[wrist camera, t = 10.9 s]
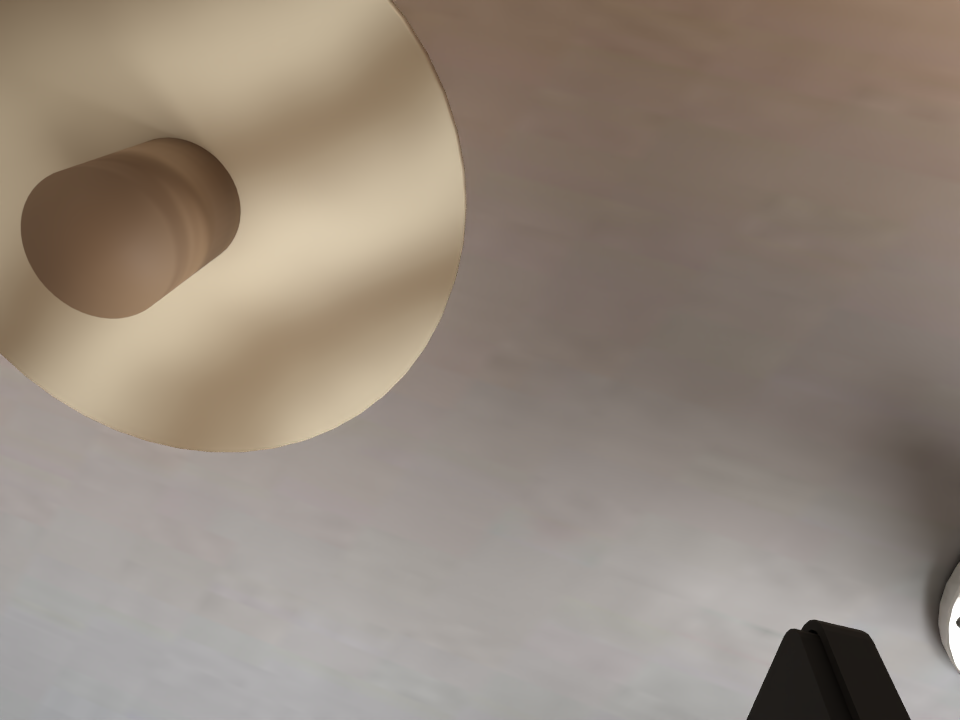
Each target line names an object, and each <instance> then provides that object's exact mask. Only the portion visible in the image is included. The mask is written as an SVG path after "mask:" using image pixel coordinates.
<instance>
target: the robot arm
mask: <svg viewBox="0 0 960 720" xmlns="http://www.w3.org/2000/svg"><path fill="white" fill-rule="evenodd" d="M938 625H939V630H940V635H941V641H942V644H943V646H944V648H945V650H946V652H947V654H948V656H949V658H950V660H951V662H952V663H953V665H954V666H955V668H956V669H957V671H958V672H959V674H960V562H959V563H958V565H957V566H956V568H955V570H954V572H953V573H952V575H951V577H950V578H949V580H948V582H947V584H946V586H945V590H944V593H943V596H942V599H941V602H940V608H939V621H938ZM747 720H911V719H910V717H909V715H908V713H907V711H906V709H905V707H904V705H903V703H902V701H901V699H900V696H899V694H898V692H897V690H896V688H895V686H894V684H893V682H892V680H891V678H890V676H889V673H888V671H887V669H886V667H885V665H884V663H883V661H882V659H881V657H880V655H879V653H878V651H877V648H876V646H875V644H874V642H873V640H872V639H871V637H870V636H869V635H868V634H867V633H865V632H864V631H861V630H857V629H853V628H848V627H844V626H840V625H835V624H831V623H827V622H823V621H818V620H809V621H808V622H807V623H806V624H805V625H804V626H803V628H802V630H798V629H790V630H789V631H788V632H786V634H785V636H784V638H783V640H782V642H781V644H780V646H779V649H778V651H777V653H776V655H775V657H774V660H773V662H772V664H771V666H770V669H769V671H768V673H767V675H766V678H765V680H764V682H763V684H762V686H761V689H760V691H759V693H758V695H757V698H756V700H755V702H754V704H753V707H752V709H751V711H750V713H749V715H748V718H747Z"/></svg>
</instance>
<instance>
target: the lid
mask: <svg viewBox="0 0 960 720" xmlns="http://www.w3.org/2000/svg"><path fill="white" fill-rule="evenodd" d="M466 208H467V203H466V185H465V168H464V162H463V157H462V152H461V146H460V141H459V135H458V130H457V127H456V124H455V121H454V118H453V114H452V111H451V108H450V105H449V102H448V99H447V96H446V92H445V90H444V88H443V86H442V84H441V81H440V79H439V77H438V75H437V73H436V71H435V68H434V66H433V64H432V62H431V60H430V57H429V55H428V53H427V52H426V50H425V49H424V47H423V45H422V44H421V42H420V40H419V39H418V37H417V36H416V34H415V32H414V31H413V29H412V28H411V26H410V24H409V23H408V21H407V19H406V18H405V17H404V15H403V14H402V13H401V12H400V10H399V9H398V8H397V7H396V5H395V4H394V3H393V2H392V0H0V353H1V354H2V355H3V356H4V357H5V358H6V359H7V360H8V361H9V362H10V363H12V364H13V365H14V366H15V367H16V368H17V369H18V370H19V371H20V372H21V373H23V374H24V375H25V376H26V377H27V378H29V379H30V380H31V381H33V382H34V383H35V384H37V385H38V386H39V387H41V388H42V389H43V390H45V391H46V392H47V393H49V394H50V395H52V396H53V397H54V398H56V399H58V400H59V401H61V402H63V403H64V404H66V405H68V406H69V407H71V408H73V409H74V410H76V411H78V412H79V413H81V414H83V415H84V416H86V417H89V418H91V419H93V420H95V421H97V422H99V423H101V424H104V425H106V426H108V427H110V428H112V429H114V430H117V431H120V432H123V433H126V434H128V435H131V436H134V437H137V438H140V439H143V440H146V441H149V442H154V443H158V444H162V445H167V446H171V447H175V448H180V449H189V450H198V451H206V452H248V451H256V450H264V449H272V448H277V447H281V446H285V445H289V444H293V443H297V442H301V441H305V440H307V439H310V438H312V437H315V436H317V435H320V434H322V433H325V432H327V431H330V430H333V429H334V428H336V427H338V426H340V425H342V424H343V423H345V422H347V421H349V420H350V419H352V418H354V417H356V416H358V415H359V414H361V413H362V412H363V411H365V410H366V409H367V408H369V407H370V406H371V405H373V404H374V403H375V402H376V401H378V400H379V399H380V398H382V397H383V396H384V395H385V394H386V393H387V392H388V391H389V390H390V389H391V388H392V387H393V386H394V385H395V384H396V383H397V382H398V381H399V380H400V379H401V378H402V377H403V376H404V375H405V374H406V373H407V372H408V370H409V369H410V368H411V366H412V365H413V364H414V362H415V361H416V359H417V358H418V357H419V355H420V354H421V353H422V351H423V350H424V349H425V347H426V346H427V344H428V342H429V340H430V338H431V336H432V334H433V332H434V331H435V329H436V327H437V325H438V323H439V321H440V319H441V317H442V315H443V312H444V309H445V306H446V304H447V301H448V298H449V296H450V293H451V290H452V287H453V285H454V282H455V279H456V276H457V271H458V267H459V262H460V258H461V253H462V248H463V244H464V234H465V221H466Z"/></svg>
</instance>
